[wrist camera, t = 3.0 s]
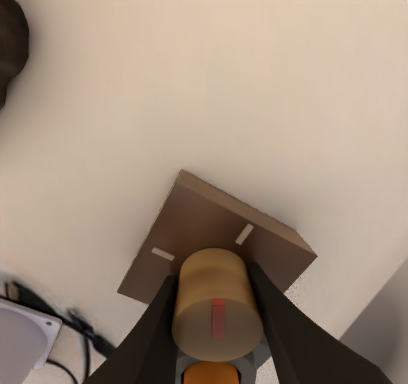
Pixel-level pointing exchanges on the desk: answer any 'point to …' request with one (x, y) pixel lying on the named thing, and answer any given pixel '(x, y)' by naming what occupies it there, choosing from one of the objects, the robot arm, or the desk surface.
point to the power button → (211, 373)
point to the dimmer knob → (216, 307)
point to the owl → (11, 43)
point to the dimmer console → (212, 238)
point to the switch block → (243, 364)
